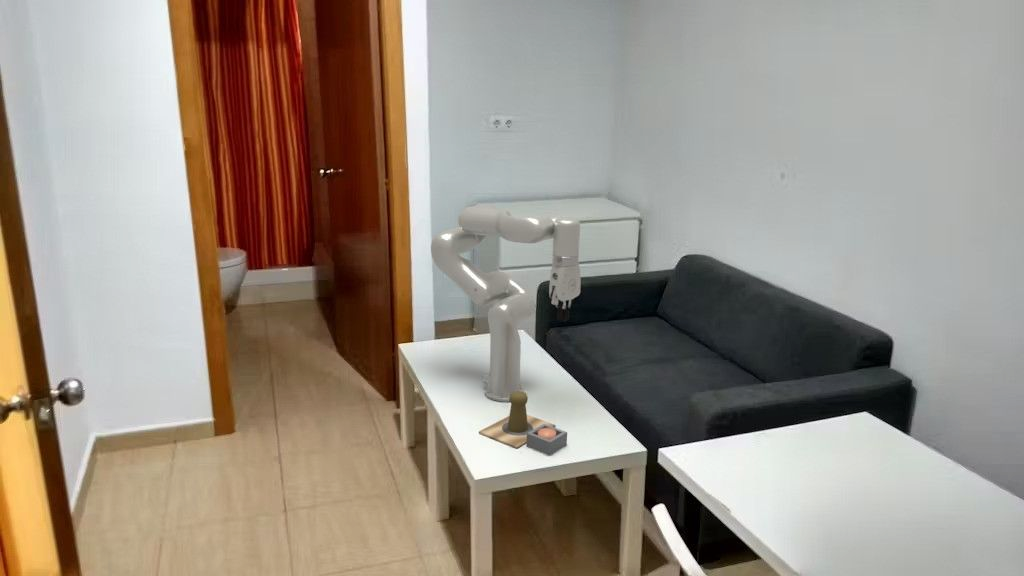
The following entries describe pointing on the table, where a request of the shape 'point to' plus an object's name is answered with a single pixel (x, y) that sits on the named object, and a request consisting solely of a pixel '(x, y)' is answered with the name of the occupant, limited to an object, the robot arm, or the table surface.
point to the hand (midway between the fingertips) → (562, 320)
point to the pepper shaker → (518, 412)
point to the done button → (547, 433)
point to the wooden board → (509, 438)
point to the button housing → (546, 440)
